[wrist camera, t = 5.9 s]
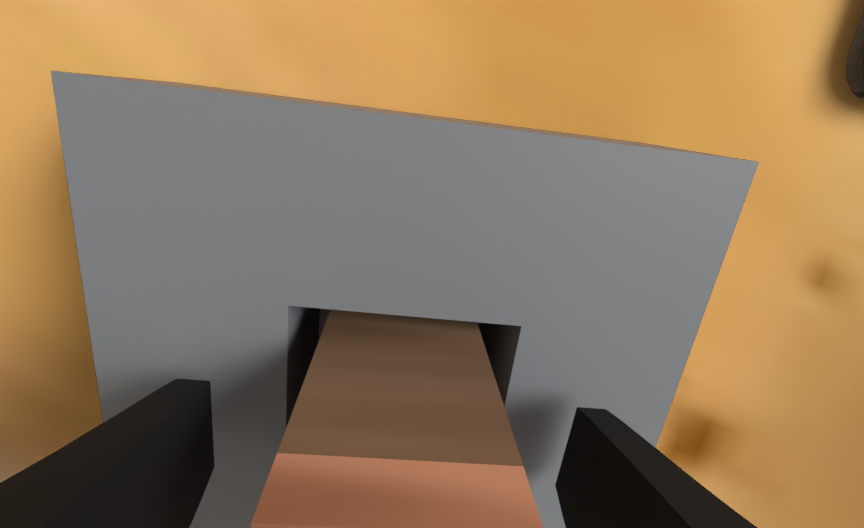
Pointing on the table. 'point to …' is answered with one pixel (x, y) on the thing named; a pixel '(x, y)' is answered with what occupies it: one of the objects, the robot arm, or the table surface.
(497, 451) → the peg
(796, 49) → the table surface
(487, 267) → the socket block
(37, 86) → the table surface
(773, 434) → the table surface
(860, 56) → the phone
